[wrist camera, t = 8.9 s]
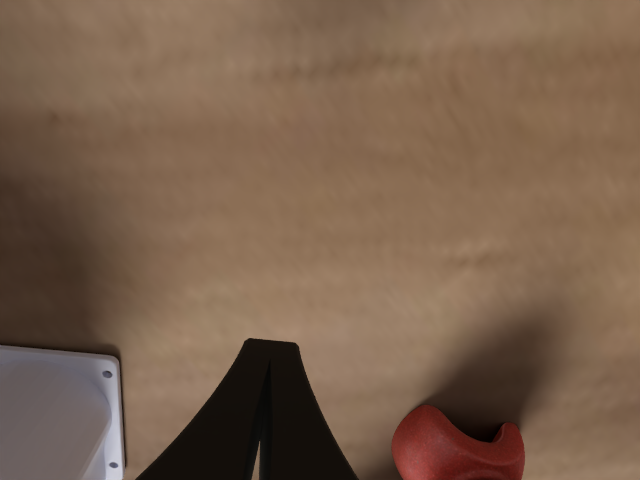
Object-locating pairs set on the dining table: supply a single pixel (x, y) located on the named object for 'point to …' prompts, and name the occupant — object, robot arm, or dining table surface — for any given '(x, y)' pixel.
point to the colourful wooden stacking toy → (454, 450)
